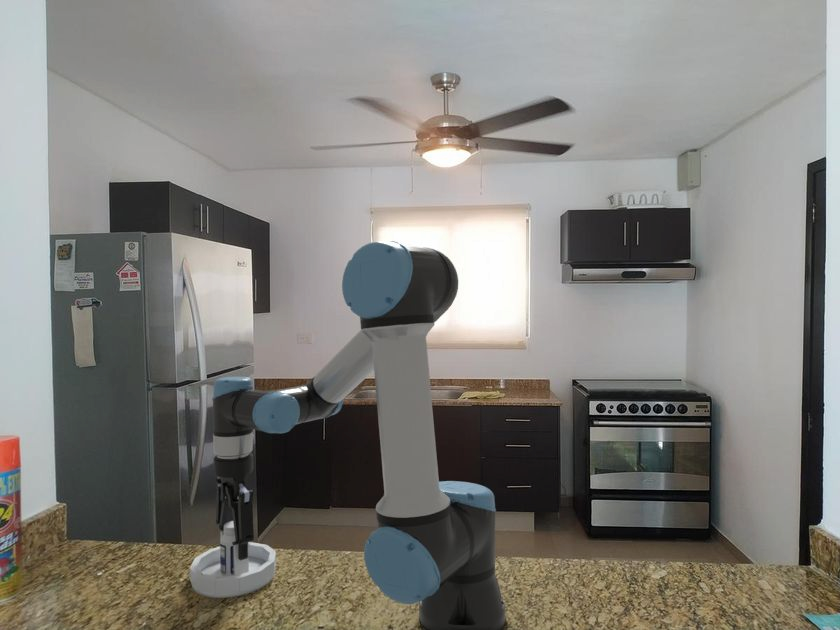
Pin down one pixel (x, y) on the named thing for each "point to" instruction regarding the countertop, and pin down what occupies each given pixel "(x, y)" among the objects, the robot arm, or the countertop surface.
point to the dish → (217, 586)
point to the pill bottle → (227, 550)
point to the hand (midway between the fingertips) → (234, 567)
